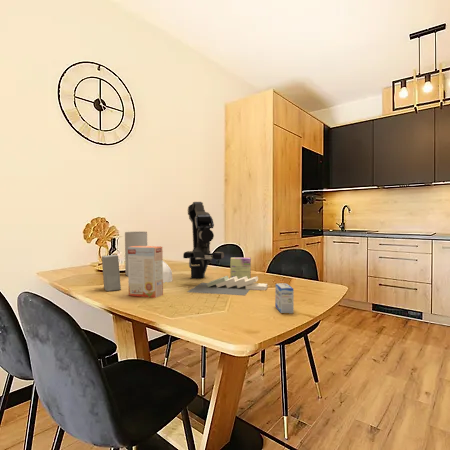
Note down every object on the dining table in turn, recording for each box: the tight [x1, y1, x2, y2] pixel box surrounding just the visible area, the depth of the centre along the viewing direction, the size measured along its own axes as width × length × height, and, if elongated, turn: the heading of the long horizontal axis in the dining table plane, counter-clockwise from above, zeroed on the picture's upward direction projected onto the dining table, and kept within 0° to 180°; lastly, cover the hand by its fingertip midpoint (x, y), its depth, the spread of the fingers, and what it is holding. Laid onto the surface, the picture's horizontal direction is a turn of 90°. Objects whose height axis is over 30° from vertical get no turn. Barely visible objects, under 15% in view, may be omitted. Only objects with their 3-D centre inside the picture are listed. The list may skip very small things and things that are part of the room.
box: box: [229, 257, 252, 279], centre depth 158 cm, size 10×6×12 cm, turn 84°
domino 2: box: [216, 276, 238, 288], centre depth 142 cm, size 2×6×9 cm
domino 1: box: [206, 275, 230, 287], centre depth 143 cm, size 2×6×9 cm
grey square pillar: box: [124, 231, 148, 277], centre depth 178 cm, size 12×12×25 cm
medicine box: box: [274, 282, 295, 314], centre depth 106 cm, size 8×4×9 cm, turn 5°
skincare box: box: [101, 254, 122, 292], centre depth 141 cm, size 8×7×16 cm
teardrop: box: [163, 260, 173, 284], centre depth 159 cm, size 11×11×12 cm
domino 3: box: [226, 276, 248, 288], centre depth 140 cm, size 2×6×9 cm
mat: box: [186, 282, 251, 296], centre depth 138 cm, size 26×20×1 cm
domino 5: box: [246, 282, 268, 291], centre depth 138 cm, size 2×6×9 cm
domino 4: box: [237, 275, 259, 288], centre depth 139 cm, size 2×6×9 cm
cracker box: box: [127, 245, 164, 299], centre depth 128 cm, size 14×6×21 cm, turn 65°
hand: (203, 273), depth 145 cm, fingers closed
